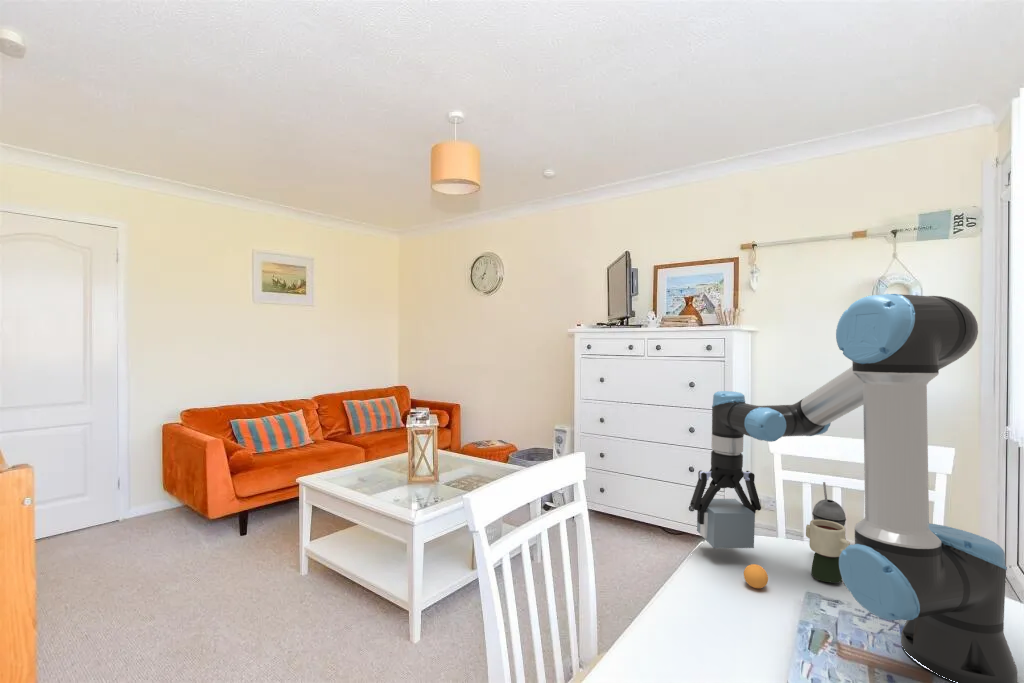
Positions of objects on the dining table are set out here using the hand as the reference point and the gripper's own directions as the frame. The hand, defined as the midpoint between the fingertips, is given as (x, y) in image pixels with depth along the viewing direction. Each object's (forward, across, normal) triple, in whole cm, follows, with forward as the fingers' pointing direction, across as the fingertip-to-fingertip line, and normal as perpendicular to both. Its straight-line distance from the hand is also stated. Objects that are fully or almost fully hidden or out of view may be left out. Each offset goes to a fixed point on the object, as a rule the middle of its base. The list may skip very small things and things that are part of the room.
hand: (724, 536), depth 126 cm
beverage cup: (+5, -26, +3) cm, 26 cm away
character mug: (+5, -19, +12) cm, 23 cm away
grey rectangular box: (+1, 0, 0) cm, 1 cm away
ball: (+2, 0, +15) cm, 16 cm away
